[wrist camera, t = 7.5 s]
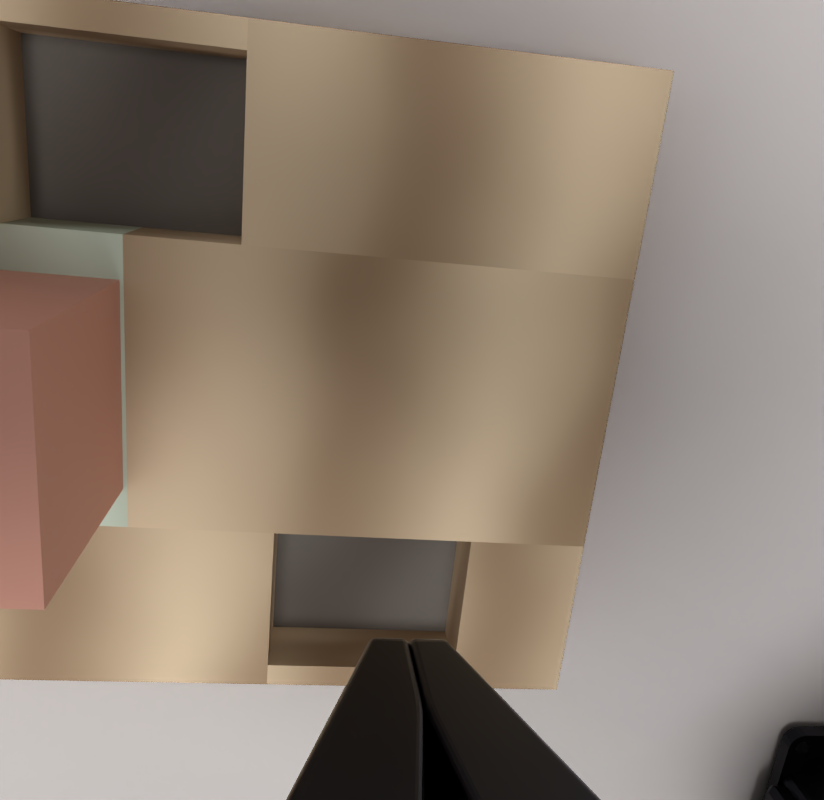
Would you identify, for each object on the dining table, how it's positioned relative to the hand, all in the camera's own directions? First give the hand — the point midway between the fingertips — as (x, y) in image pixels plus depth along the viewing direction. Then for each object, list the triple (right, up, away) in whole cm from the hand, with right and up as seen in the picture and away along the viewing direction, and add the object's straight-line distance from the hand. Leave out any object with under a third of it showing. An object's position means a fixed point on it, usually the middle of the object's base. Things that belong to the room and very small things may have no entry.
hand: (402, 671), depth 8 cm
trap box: (-4, +4, +11) cm, 12 cm away
